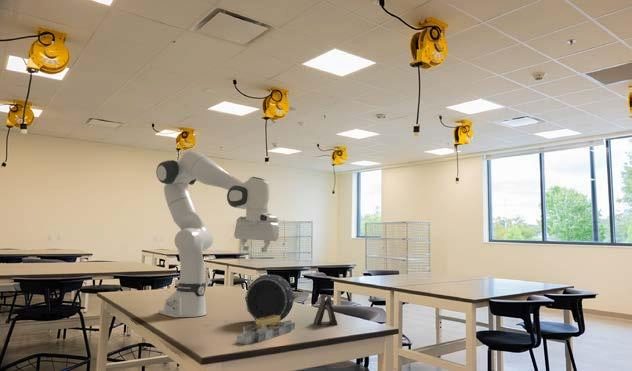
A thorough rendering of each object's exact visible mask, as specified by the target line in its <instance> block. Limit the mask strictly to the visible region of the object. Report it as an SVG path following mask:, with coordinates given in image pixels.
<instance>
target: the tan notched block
mask: <svg viewBox="0 0 632 371" xmlns="http://www.w3.org/2000/svg"><path fill="white" fill-rule="evenodd" d="M279 322H281V321H280V315H270V316H266V317H262V318H258V319H256V320H255V325H256V327H257V329H261V328H264V327H266V325H267V324H270V326H274V327H277V326H279Z"/></svg>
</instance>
